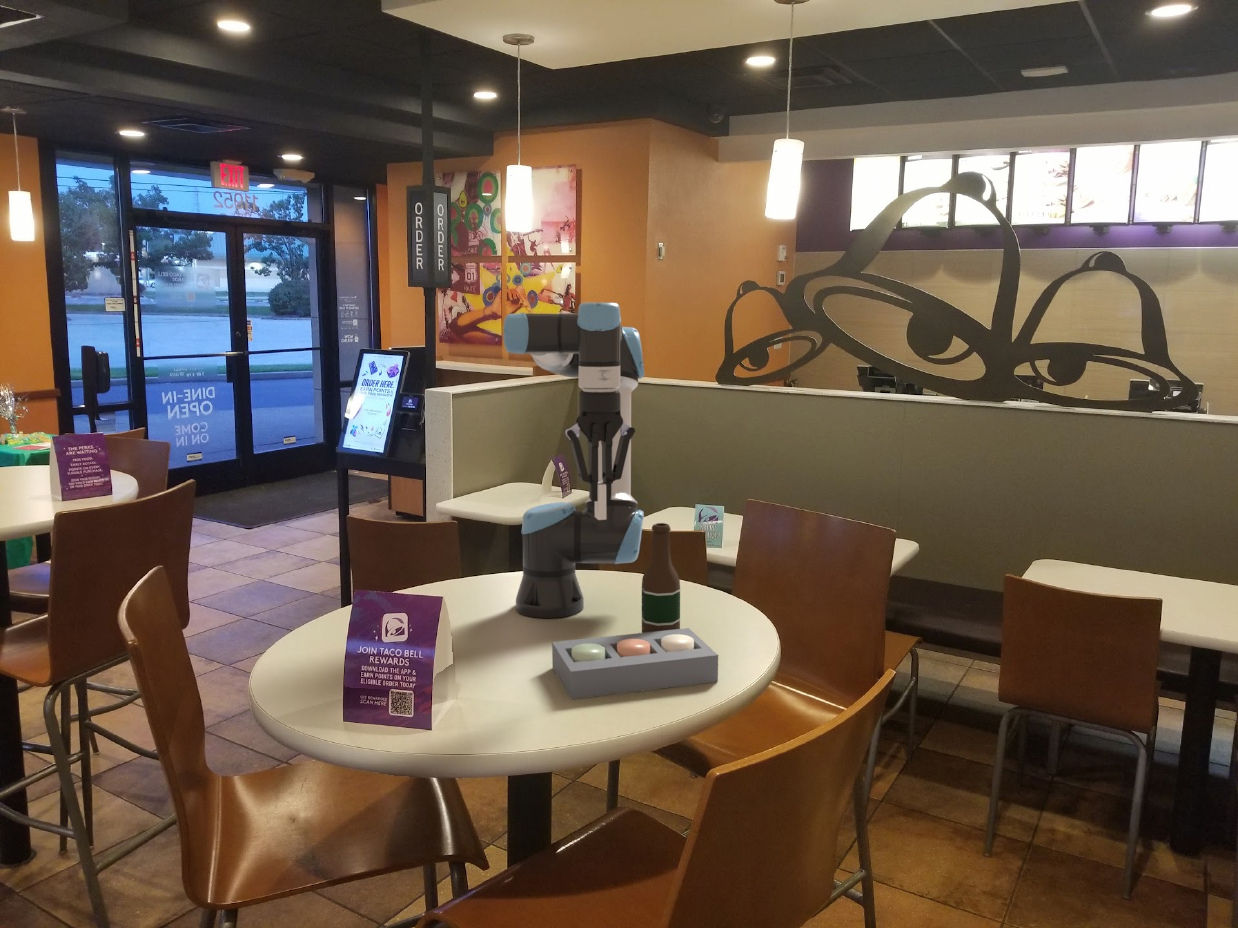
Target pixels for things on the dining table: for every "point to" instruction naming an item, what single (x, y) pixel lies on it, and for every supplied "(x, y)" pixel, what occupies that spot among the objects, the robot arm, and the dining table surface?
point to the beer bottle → (660, 586)
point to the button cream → (677, 643)
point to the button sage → (587, 652)
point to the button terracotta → (633, 647)
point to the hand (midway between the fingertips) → (600, 518)
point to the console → (633, 666)
